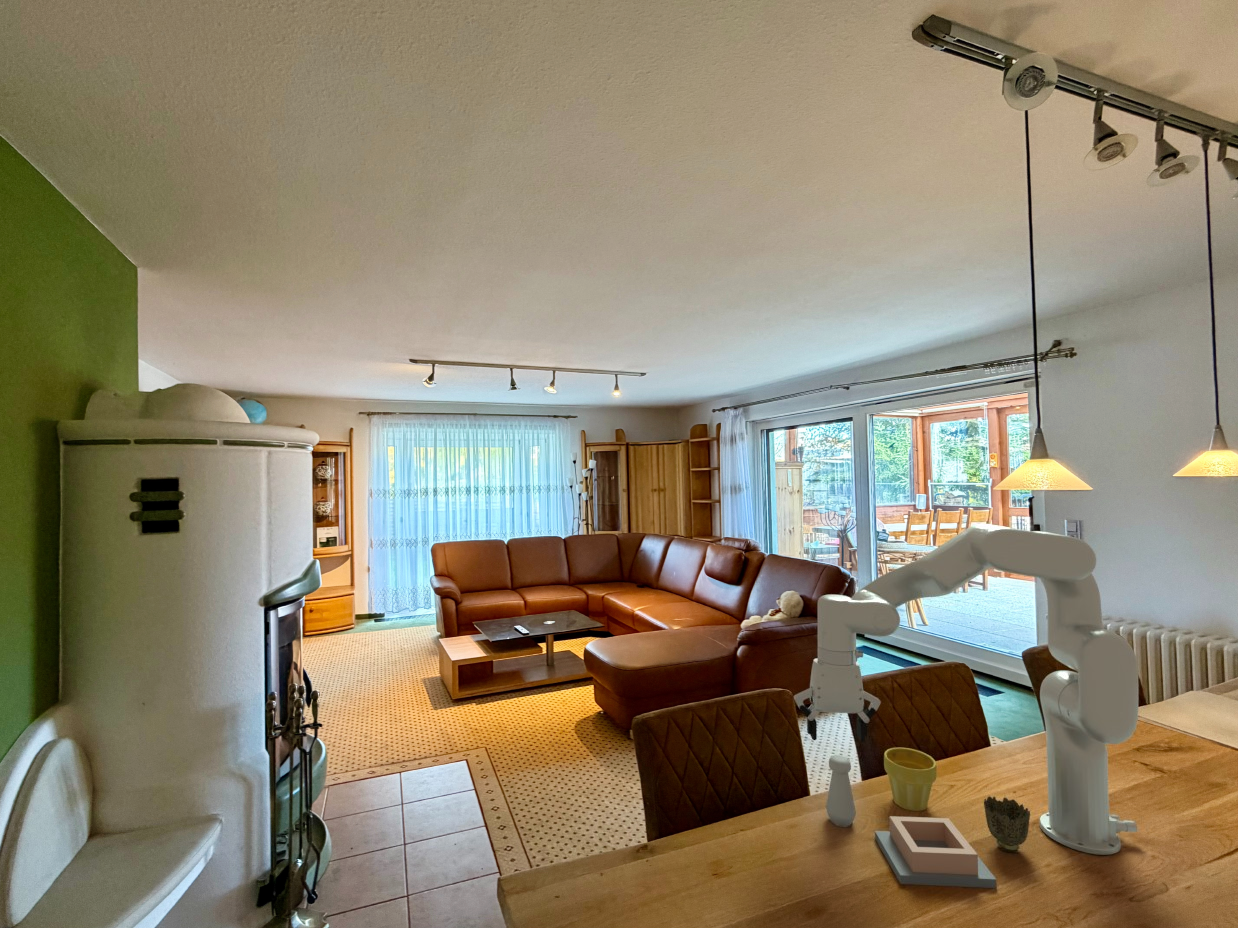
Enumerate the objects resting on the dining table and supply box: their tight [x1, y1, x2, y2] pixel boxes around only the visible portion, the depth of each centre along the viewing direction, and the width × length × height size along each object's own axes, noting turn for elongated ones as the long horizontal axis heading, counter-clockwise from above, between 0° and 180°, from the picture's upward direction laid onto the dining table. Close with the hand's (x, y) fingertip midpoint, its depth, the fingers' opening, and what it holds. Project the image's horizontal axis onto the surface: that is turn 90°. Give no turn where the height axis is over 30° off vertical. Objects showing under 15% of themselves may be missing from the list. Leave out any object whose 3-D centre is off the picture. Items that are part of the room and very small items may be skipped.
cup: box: [983, 795, 1031, 853], centre depth 113 cm, size 8×7×8 cm
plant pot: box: [883, 747, 937, 812], centre depth 129 cm, size 10×10×10 cm
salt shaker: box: [825, 754, 857, 828], centre depth 122 cm, size 6×6×13 cm
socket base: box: [874, 815, 998, 889], centre depth 109 cm, size 16×13×5 cm
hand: (836, 738), depth 123 cm, fingers open, 9 cm apart
